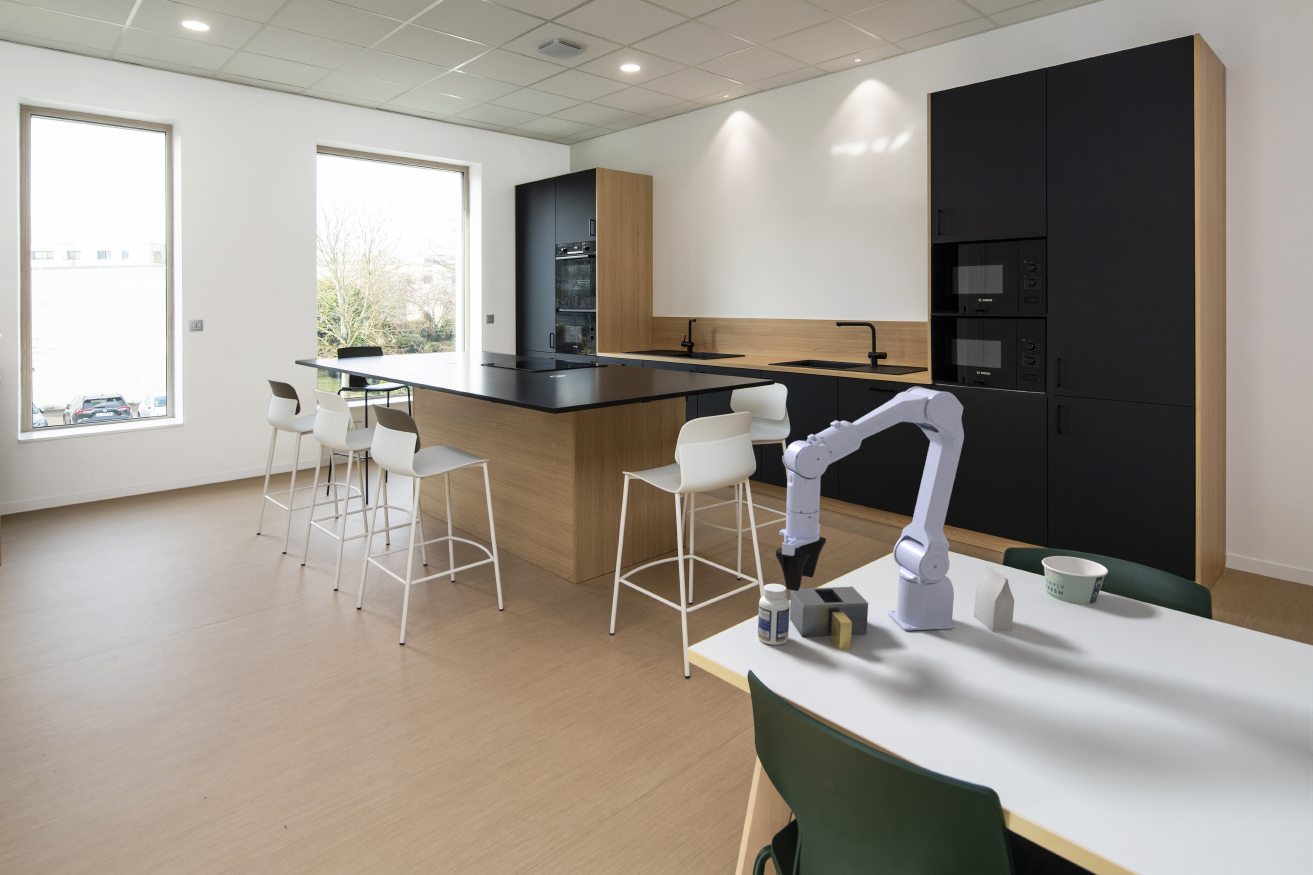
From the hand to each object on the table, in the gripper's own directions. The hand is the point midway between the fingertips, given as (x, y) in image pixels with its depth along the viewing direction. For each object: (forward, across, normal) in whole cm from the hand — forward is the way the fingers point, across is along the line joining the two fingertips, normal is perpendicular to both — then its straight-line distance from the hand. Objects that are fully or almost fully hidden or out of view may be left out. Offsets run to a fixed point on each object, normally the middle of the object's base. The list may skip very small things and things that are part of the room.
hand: (800, 582), depth 136 cm
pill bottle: (+10, +5, -3) cm, 11 cm away
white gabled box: (+10, -23, +30) cm, 39 cm away
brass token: (+10, 0, +8) cm, 13 cm away
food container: (+10, -47, +42) cm, 64 cm away
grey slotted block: (+10, -6, +4) cm, 12 cm away
